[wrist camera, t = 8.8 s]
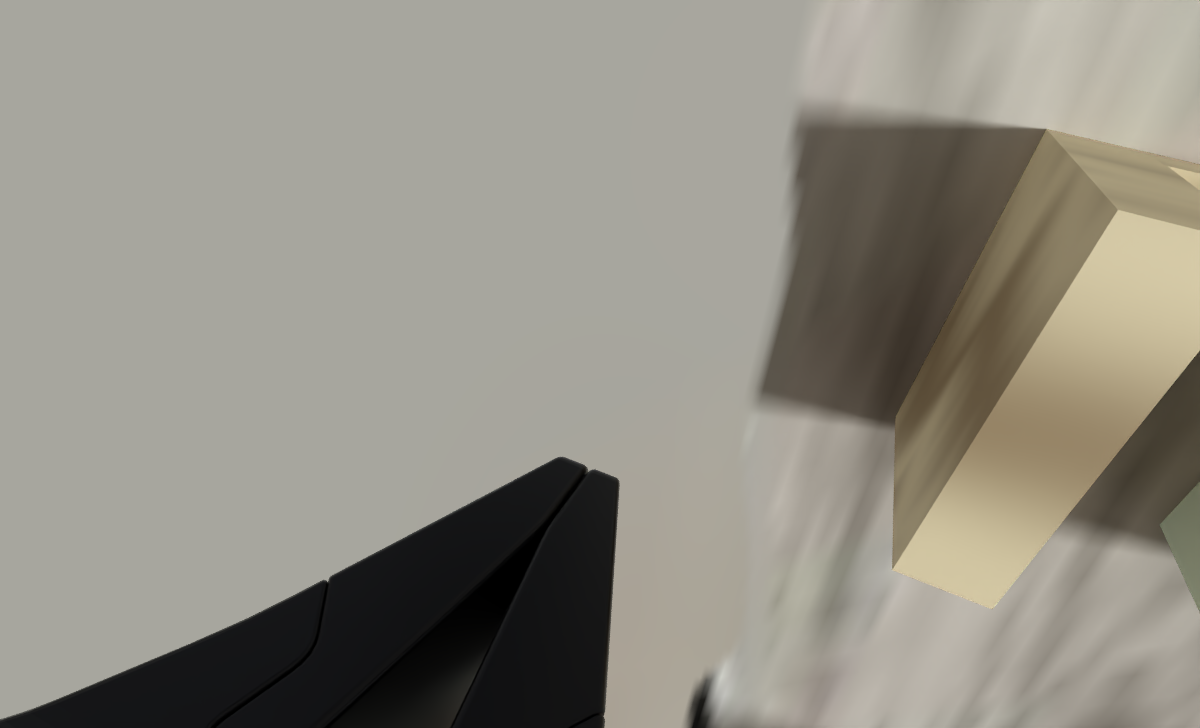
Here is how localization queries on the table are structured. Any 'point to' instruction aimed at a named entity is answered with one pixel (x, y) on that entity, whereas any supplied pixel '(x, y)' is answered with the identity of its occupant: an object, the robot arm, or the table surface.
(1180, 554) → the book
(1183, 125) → the table surface
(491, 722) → the robot arm
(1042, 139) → the bookend
